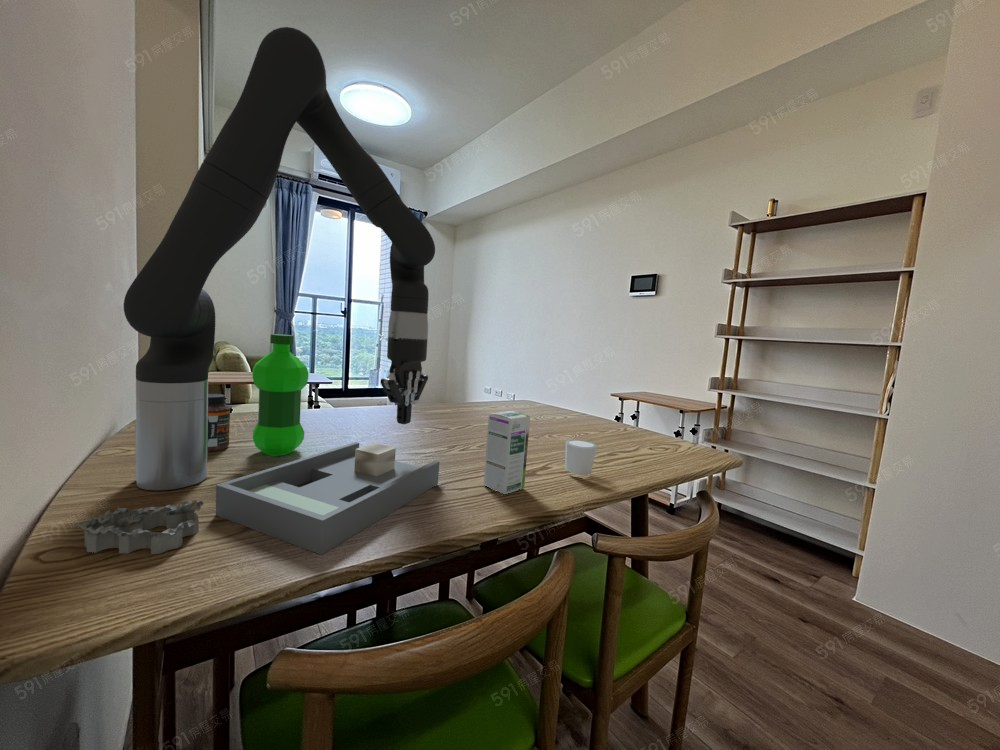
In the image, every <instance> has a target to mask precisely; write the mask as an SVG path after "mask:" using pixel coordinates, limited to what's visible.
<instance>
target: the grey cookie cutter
mask: <svg viewBox="0 0 1000 750" xmlns="http://www.w3.org/2000/svg"><path fill="white" fill-rule="evenodd" d="M203 506H204V501H203V500H198V501H197V500H185V501H179V503H178V504H177V505H173V504H166V505H165V506H162V507H161V506H160V507H156V506H148V507H141V508H140V507H139V508H134V509H132V510H129V508H128V507H117V508H116V509H115V511H114V512H112V511H111V510H110V509H109V510H106V511H105V512H104V514H99V515H97V516H96V517H91V518H89V519H88V521H85V522H83V523H77V524H75V525H76V526H77V527H79V528H80V529H82V530H83V533H84V545H83V546H84V548H86V549H85V550H86V553H87V552H92V554H95V553H99V552H101V551H103V550H107V549H115V548H116V549H118V554H131V553H132V552H134V551H136V550H141V549H150V554H151V555H157V554H162V553H164V552H166V551H169V550H174V549H178V548H180V547H181V546H183V537H187V536H194V535H196V534H197V533H198V532H199V531H200V530H199V529H200V526H199V525H200V522H199V514H197V513H196V512H199V511H200V510H201V508H203ZM157 527H165V530H163V531H162V532H157V531H152V530H150V529H155V528H157ZM93 552H94V553H93Z"/></svg>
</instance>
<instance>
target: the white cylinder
mask: <svg viewBox="0 0 1000 750" xmlns="http://www.w3.org/2000/svg"><path fill="white" fill-rule="evenodd" d="M597 447H598V445H597V444H596V443H594V442H591V441H588V440H582V439H567V440H566V441H565V449H564V450H565V453H564V454H565V456H564V457H565V458H564V459H565V461H564V470H565V469H566V470H567V471H569V472H571V473H574V474H578V475H588V474H591V475H592V472H593V466H594V462H595V457H596V454H597Z"/></svg>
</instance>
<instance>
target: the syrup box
mask: <svg viewBox="0 0 1000 750" xmlns="http://www.w3.org/2000/svg"><path fill="white" fill-rule="evenodd" d="M530 422H531V416H530V415H528V414H526V413H522V412H518V411H512V410H507V411H500V412H494V413H493V412H492V413H491V412H490V413H489V414H488V423H487V434H486V445H485V446H486V448H485V461H484V476H483V477H484V478H483V486H484V485H485V486H487V487H490V488H492V489H494V490H497V491H499V492H501V493H503V494H507V495H508V493H509V494H511V493H514V492H518V491H520V490H522V489H521V488H523V487H524V488H525V484H526V483H525V482H526V473H527V472H526V470H527V457H528V448H529V447H528V446H529V435H530ZM485 486H484V487H485ZM487 487H486V488H487ZM524 488H523V489H524ZM519 489H520V490H519ZM503 494H502V495H503Z"/></svg>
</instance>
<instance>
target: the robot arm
mask: <svg viewBox="0 0 1000 750" xmlns="http://www.w3.org/2000/svg"><path fill="white" fill-rule="evenodd" d="M326 71H327V70H326V65H325V62H324V59H323V57H322V54H321V51H320V50H319V48H318V46H317V44H316V43H315V42H314V41H313V39H312V38H311V37H310V36H309V35H308V34H306V33H305V32H303V31H302V30H301V29H298V28H295V27H290V26H283V27H278V28H274V29H273V30H271V31H270V32H268V33H267V34H266V35H265V36H264V37H263V38H262V40H261V42H260V44H259V46H258V48H257V51H256V54H255V57H254V60H253V63H252V66H251V69H250V71H249V73H248V77H247V79H246V82H245V84H244V87H243V89H242V92H241V94H240V96H239V99H238V101H237V103H236V105H235V106H234V108H233V110H232V111H231V113H230V115H229V116H228V118H227V119H226V121H225V122H224V124H223V126H222V128H221V129H220V131H219V133H218V135H217V137H216V138H215V141H214V143H213V144H212V145H211V148H210V149H209V151H208V152H207V155H206V156H205V158H204V159H203V160H202V161H203V162H202V163H201V164H200V166H199V168H198V170H197V172H196V174H195V176H194V177H193V180H192V181H191V184H190V186H189V189H188V191H187V193H186V195H185V197H184V198H183V200H182V203H181V205H180V206H179V207H178V210H177V211H176V213H175V215H174V216H173V219H172V221H171V223H170V225H169V226H168V229H167V231H166V233H165V234H164V237H163V238H162V240H161V241H160V243H159V244H158V246H157V248H156V249H155V250H154V252H153V253H152V255H151V256H150V257H149V259H148V260H147V262H146V263H145V265H144V266H143V267H142V269H141V271H140V270H139V272H138V274H137V276H136V277H135V278H134V280H133V281H132V282H131V284H130V286H129V287H128V289H127V291H126V293H125V296H124V300H123V312H124V316H125V319H126V321H127V323H128V325H130V327H131V328H133V329H134V330H135V331H136V332H138V333H139V334H141V335H144V336H147V337H150V343H149V347H148V349H147V351H146V353H145V354H144V355H143V356H142V357H141V358H139V360H138V361H137V363H136V364H135V421H136V422H135V426H134V430H135V431H134V432H135V435H134V437H135V439H134V441H135V443H134V446H135V447H134V448H135V449H134V451H135V452H134V454H135V463H134V464H135V480H136V487H138V488H139V489H142V490H146V491H168V490H177V489H181V488H186V487H190V486H193V485H197V484H199V483H201V482H203V481H205V480H206V478H207V477H208V451H207V442H208V394H209V371H210V367H211V365H212V363H213V359H214V354H215V353H214V352H215V336H216V311H215V310H216V309H215V304H214V302H213V299H212V298H211V296H210V295H209V293H208V292H207V291H206V290H205V289H204V286H205V284H206V282H207V280H208V277H209V276H210V274H211V272H212V270H213V269H214V267H216V265H217V263H218V262H219V261H220V260H221V259H222V258H223V256H224V255H225V254H226V253H228V252H229V251H230V250H231V249H232V248H233V247H234V246H235V245H237V243H239V242H240V240H242V239H243V238H244V237H245V236H246V235H247V233H249V231H251V229H252V228H253V227H254V225H255V223H256V222H257V220H258V219H259V217H260V215H261V213H262V212H263V210H264V207H265V206H266V204H267V202H268V200H269V197H270V196H271V194H272V190H273V188H274V186H275V182H276V179H277V176H278V174H279V173H278V172H279V169H280V166H281V161H282V158H283V154H284V150H285V146H286V144H287V141H288V137H289V135H290V133H291V131H292V129H293V128H294V126H295V124H296V123H297V124H298V125H299V126H300V127H301V128H302V130H303V131H304V132H305V133H306V134H307V135H308V136H309V138H310V139H311V140H312V141H313V143H314V144H315V145H316V146H317V147H318V149H319V150H320V151H321V153H322V154H323V155H324V157H325V158H326V159H327V161H328V162H329V163H330V165H331V166H332V168H333V169H334V171H335V172H336V174H337V176H338V177H339V178H340V180H341V181H342V183H343V184H344V186H345V187H346V189H347V190H348V191H349V193H350V195H351V196H352V197H353V199H354V200H355V202H356V203H357V205H358V206H359V207H360V209H361V210H362V212H363V213H364V215H365V216H366V217H367V219H368V220H369V221H370V223H371V224H372V225H374V226H375V227H377V228H379V229H381V231H383V232H384V234H385V235H386V236H387V238H388V239H389V241H390V242H391V245H390V252H389V267H390V269H389V270H390V279H391V296H390V313H389V314H390V315H389V319H388V331H387V350H386V351H387V353H386V356H387V359H388V360H390V361H391V363H390V367H389V374H388V376H387V377H386V378H384V377H383V378H381V379H380V385H381V387H382V388H383V390H384V393H385V395H386V397H387V398H388V401H389V402H390V403H391V404H395V405H396V407H397V408H396V422H397V423H398V424H400V425H408V424H410V423H411V421H412V409H413V407H412V406H413V405H414V403H415V401H419V399H420V397H421V395H422V393H423V391H424V388H425V387H426V384H427V382H428V380H429V375H428V374H424V373H423V371H422V370H423V368H422V362H426V361H427V355H428V353H427V351H428V336H429V335H428V334H429V319H428V313H429V312H428V311H429V288H428V286H427V285H426V284H425V267H426V266H427V265H429V264H430V263H431V262H432V260H433V259H434V257H435V254H436V245H435V241H434V238H433V236H432V234H431V233H430V231H429V230H428V228H427V227H426V225H424V223H423V222H422V221H421V220H420V219H419V218H418V217H417V215H416V214H415V213H414V212H413V211H412V210H411V209H410V208H409V207H408V206H407V205H406V204H405V203H404V201H403V200H402V198H401V196H400V195H399V194H398V192H397V189H396V188H395V187H394V186H393V184H392V182H391V181H390V179H389V177H388V175H386V173H385V172H384V171H383V169H382V168H381V167H380V165H379V164H378V162H377V161H376V160H375V159H374V158H373V156H372V155H371V154H370V153H369V152H368V151H367V150H366V148H365V147H364V146H362V144H361V143H360V142H359V141H358V140H357V138H356V137H355V136H354V135H353V134H352V132H351V131H350V129H349V128H348V127H347V125H346V124H345V122H344V120H343V119H342V118H341V116H340V115H341V114H339V112H338V110H337V108H336V106H335V104H334V102H333V101H332V100H333V99H332V98H331V96H330V94H329V92H328V89H327V72H326Z"/></svg>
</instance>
